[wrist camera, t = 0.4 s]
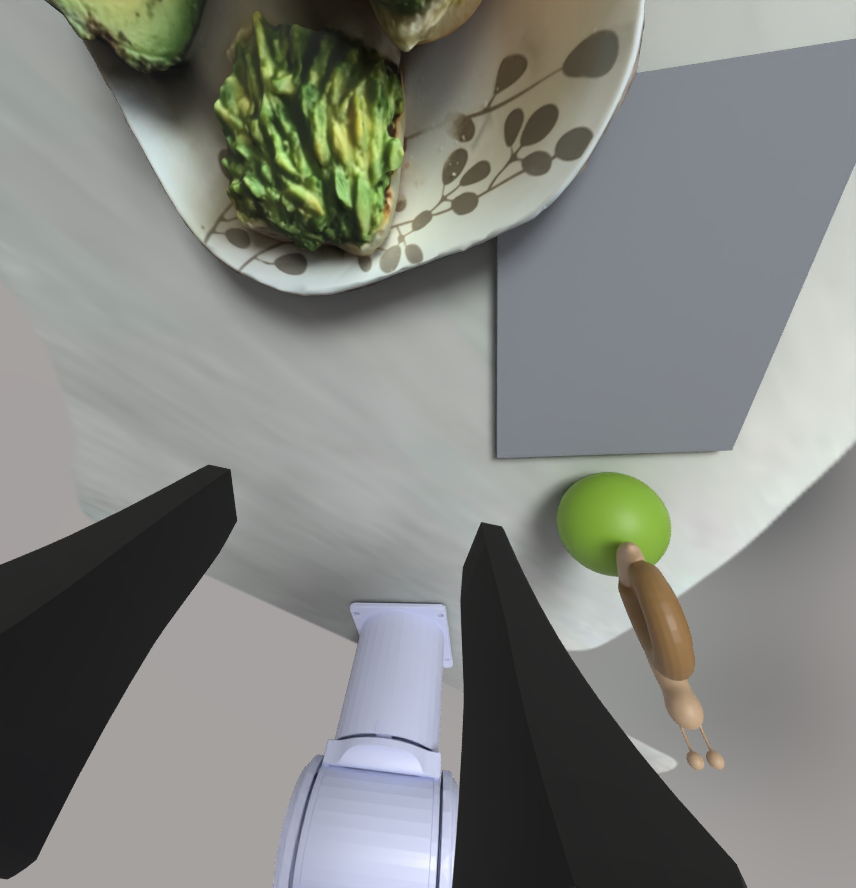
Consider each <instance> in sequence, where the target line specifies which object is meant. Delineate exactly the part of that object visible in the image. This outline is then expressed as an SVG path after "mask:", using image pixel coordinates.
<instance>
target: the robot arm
mask: <svg viewBox="0 0 856 888" xmlns="http://www.w3.org/2000/svg"><path fill="white" fill-rule="evenodd" d="M236 522H237V516H236V508H235V500H234V493H233V485H232V477H231V470H230V469H227V468H222V467H217V466H213V465H207V466H205V467H203V468H201V469H199V470H197V471H195V472H193V473H191V474H190V475H188V476H186V477H184V478H182V479H180V480H178V481H176V482H175V483H173V484H171V485H169V486H167V487H165V488H163V489H162V490H160V491H158V492H156V493H154V494H152V495H150V496H148V497H146V498H145V499H143V500H141V501H139V502H137V503H135V504H133V505H131V506H129V507H127V508H125V509H123V510H121V511H119V512H117V513H115V514H113V515H111V516H109V517H107V518H105V519H103V520H101V521H99V522H97V523H95V524H93V525H90V526H88V527H86V528H84V529H82V530H80V531H78V532H76V533H74V534H72V535H70V536H67V537H65V538H63V539H61V540H58V541H56V542H54V543H52V544H49V545H47V546H45V547H42V548H40V549H38V550H35V551H33V552H30V553H28V554H26V555H23V556H21V557H18V558H16V559H13V560H11V561H9V562H6V563H4V564H1V565H0V878H1V879H9V878H11V877H13V876H15V875H16V874H18V873H19V872H21V871H22V870H24V869H25V868H27V867H28V866H29V865H30V864H31V863H33V862H34V861H35V860H36V859H37V857H38V855H39V853H40V851H41V849H42V847H43V845H44V843H45V841H46V839H47V837H48V835H49V833H50V831H51V829H52V827H53V825H54V823H55V821H56V819H57V817H58V815H59V813H60V811H61V809H62V807H63V805H64V803H65V801H66V799H67V797H68V795H69V793H70V791H71V789H72V788H73V785H74V784H75V782H76V780H77V778H78V776H79V774H80V772H81V770H82V768H83V767H84V765H85V763H86V761H87V759H88V757H89V756H90V754H91V752H92V750H93V748H94V746H95V745H96V742H97V741H98V739H99V737H100V735H101V733H102V732H103V730H104V728H105V726H106V724H107V723H108V721H109V719H110V717H111V716H112V714H113V712H114V710H115V709H116V707H117V705H118V703H119V702H120V700H121V698H122V697H123V695H124V693H125V691H126V689H127V688H128V686H129V684H130V683H131V681H132V679H133V678H134V676H135V674H136V673H137V671H138V669H139V668H140V666H141V664H142V663H143V661H144V659H145V658H146V656H147V654H148V653H149V651H150V649H151V648H152V646H153V645H154V643H155V642H156V640H157V639H158V637H159V636H160V634H161V633H162V631H163V630H164V628H165V627H166V626H167V624H168V623H169V621H170V620H171V619H172V617H173V616H174V614H175V613H176V612H177V610H178V609H179V608H180V606H181V605H182V604H183V602H184V601H185V600H186V598H187V597H188V595H189V594H190V592H191V591H192V590H193V589H194V587H195V586H196V585H197V583H198V582H199V580H200V579H201V578H202V576H203V575H204V574H205V572H206V571H207V569H208V568H209V567H210V565H211V564H212V563H213V561H214V560H215V558H216V557H217V555H218V554H219V553H220V551H221V549H222V547H223V546H224V544H225V542H226V540H227V539H228V537H229V535H230V533H231V531H232V529H233V527H234V525H235V524H236ZM350 611H351V614H352V617H353V620H354V622H355V625H356V628H357V630H358V633H359V636H360V638H359V642H358V646H357V650H356V654H355V658H354V663H353V666H352V671H351V675H350V679H349V683H348V687H347V691H346V695H345V700H344V704H343V708H342V712H341V716H340V720H339V724H338V728H337V732H336V736H335V740H328V742H327V746H326V750H325V754H324V755H317V756H315V757H314V758H313V759H312V761H311V762H310V763H309V764H308V765H307V766H306V767H305V768H304V769H303V771H302V773H301V774H300V776H299V778H298V781H297V783H296V786H295V788H294V791H293V794H292V796H291V799H290V803H289V806H288V809H287V812H286V816H285V820H284V823H283V827H282V831H281V835H280V840H279V845H278V850H277V856H276V862H275V871H274V884H273V888H747V886H746V884H745V881H744V879H743V877H742V875H741V873H740V871H739V868H738V866H737V864H736V863H735V862H734V861H733V860H732V858H731V857H730V856H729V855H728V854H727V853H726V852H725V851H724V850H723V848H722V847H721V846H720V845H719V844H718V843H717V842H716V841H715V840H714V838H713V837H712V836H711V835H710V834H709V833H708V832H707V831H706V829H705V828H704V827H703V826H702V825H701V824H700V823H699V822H698V820H697V819H696V818H695V817H694V816H693V815H692V814H691V813H690V812H689V810H688V809H687V808H686V807H685V806H684V805H683V804H682V803H681V802H680V801H679V800H678V798H677V797H676V796H675V795H674V793H673V792H672V791H671V790H670V789H669V788H668V786H667V785H666V784H665V783H664V781H663V780H662V779H661V778H660V777H659V775H658V774H657V773H656V772H655V771H654V769H653V768H652V767H651V766H650V765H649V763H648V762H647V761H646V760H645V759H644V757H643V756H642V755H641V754H640V752H639V751H638V750H637V749H636V747H635V746H634V745H633V743H632V742H631V741H630V739H629V738H628V737H627V735H626V734H625V733H624V731H623V730H622V729H621V728H620V726H619V725H618V724H617V722H616V721H615V720H614V719H613V717H612V716H611V714H610V713H609V712H608V711H607V709H606V708H605V707H604V705H603V704H602V703H601V701H600V700H599V698H598V697H597V695H596V694H595V693H594V691H593V690H592V688H591V687H590V685H589V684H588V683H587V681H586V680H585V678H584V677H583V676H582V674H581V672H580V671H579V669H578V668H577V666H576V665H575V663H574V662H573V660H572V659H571V657H570V655H569V654H568V652H567V651H566V649H565V647H564V646H563V644H562V643H561V641H560V639H559V638H558V636H557V634H556V633H555V631H554V629H553V627H552V626H551V624H550V622H549V620H548V619H547V617H546V615H545V613H544V611H543V610H542V608H541V606H540V604H539V602H538V600H537V598H536V596H535V595H534V593H533V591H532V589H531V587H530V585H529V583H528V581H527V579H526V577H525V575H524V573H523V571H522V569H521V567H520V564H519V562H518V560H517V558H516V556H515V554H514V551H513V549H512V547H511V545H510V542H509V540H508V538H507V536H506V533H505V531H504V529H503V528H502V526H497V525H492V524H487V523H483V522H481V524H480V526H479V529H478V531H477V534H476V536H475V539H474V541H473V544H472V546H471V549H470V551H469V553H468V556H467V558H466V561H465V563H464V566H463V573H462V586H461V631H462V655H463V680H464V710H463V733H462V752H461V770H460V788H459V789H458V784H457V782H456V781H455V779H454V778H453V777H452V773H451V772H450V771H446V770H442V775H441V785H440V772H441V754H440V753H439V738H440V719H441V697H442V677H443V667H446V668H449V667H452V666H453V659H452V651H451V643H450V635H449V627H448V619H447V611H446V607H445V606H444V605H442V604H410V603H352V604H351V605H350Z"/></svg>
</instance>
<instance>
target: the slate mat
mask: <svg viewBox="0 0 856 888" xmlns="http://www.w3.org/2000/svg"><path fill="white" fill-rule="evenodd" d="M855 163H856V39H850V40H844V41H837V42H831V43H825V44H818V45H812V46H806V47H799V48H793V49H787V50H780V51H774V52H768V53H761V54H755V55H749V56H742V57H736V58H730V59H723V60H717V61H711V62H704V63H698V64H692V65H685V66H679V67H673V68H666V69H660V70H654V71H647V72H641V73H637V74H636V76H635V78H634V80H633V82H632V84H631V87H630V90H629V92H628V95H627V96H626V98H625V100H624V101H623V103H622V105H621V106H620V108H619V110H618V111H617V113H616V114H615V116H614V117H613V119H612V121H611V122H610V124H609V126H608V129H607V131H606V133H605V135H604V136H603V137H602V138H601V139H600V141H599V143H598V145H597V147H596V149H595V150H594V152H593V154H592V155H591V157H590V160H589V162H588V164H587V166H586V168H585V169H584V170H583V171H582V172H581V173H580V174H579V175H578V176H577V177H576V178H575V179H574V180H573V181H572V182H571V183H570V184H569V185H568V186H567V188H566V189H565V190H564V191H563V192H562V193H561V194H560V196H559V197H558V198H557V199H556V200H555V201H554V202H553V203H552V204H551V205H550V206H549V207H547V208H546V209H544V210H543V211H542V212H541V213H540V214H539V215H538V216H537V217H536V218H535V219H532V220H530V221H528V222H526V223H524V224H522V225H519V226H518V227H516V228H513V229H510V230H508V231H506V232H504V233H502V234H500V235H498V236H497V366H496V453H497V458H514V457H545V456H575V455H605V454H636V453H666V452H697V451H727V450H732V449H733V446H734V444H735V442H736V440H737V437H738V435H739V433H740V430H741V428H742V426H743V423H744V421H745V419H746V416H747V414H748V412H749V409H750V407H751V405H752V402H753V400H754V398H755V395H756V393H757V391H758V388H759V386H760V384H761V381H762V379H763V377H764V374H765V372H766V370H767V367H768V365H769V363H770V361H771V358H772V356H773V354H774V351H775V349H776V347H777V344H778V342H779V340H780V337H781V335H782V333H783V330H784V328H785V326H786V323H787V321H788V319H789V316H790V314H791V312H792V309H793V307H794V305H795V302H796V300H797V298H798V295H799V293H800V291H801V288H802V286H803V284H804V282H805V279H806V277H807V275H808V272H809V270H810V268H811V265H812V263H813V261H814V258H815V256H816V254H817V251H818V249H819V247H820V244H821V242H822V240H823V237H824V235H825V233H826V230H827V228H828V226H829V223H830V221H831V219H832V216H833V214H834V212H835V210H836V207H837V205H838V203H839V200H840V198H841V196H842V193H843V191H844V189H845V186H846V184H847V182H848V179H849V177H850V175H851V172H852V170H853V168H854V165H855Z"/></svg>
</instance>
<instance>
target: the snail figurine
mask: <svg viewBox="0 0 856 888" xmlns="http://www.w3.org/2000/svg"><path fill="white" fill-rule="evenodd" d="M557 528H558V532H559V535H560V538H561V540H562V543H563V544H564V546H565V548H566V549H567V551H568V552H569V553H570V554H571V555H572V557H573V558H574V559H576V560H577V561H578V562H579V563H580V564H582V565H583V566H585V567H586V568H588V569H590V570H592V571H594V572H597V573H600V574H603V575H608V576H616V577H619V583H618V589H619V593H620V596H621V598H622V601H623V604H624V606H625V609H626V611H627V614H628V616H629V619H630V621H631V623H632V626H633V628H634V630H635V632H636V635H637V637H638V639H639V641H640V643H641V645H642V647H643V649H644V651H645V654H646V657H647V659H648V662H649V664H650V666H651V669H652V671H653V673H654V675H655V677H656V679H657V681H658V683H659V685H660V687H661V690H662V693H663V696H664V701H665V706H666V709H667V711H668V713H669V715H670V716H671V718H672V719H673V720H674V721H675V722H676V723H677V724H678V725H679V726H680V728H681V730H682V733H683V735H684V738H685V740H686V742H687V745H688V748H689V750H690V752H688V754H687V761H688V763H689V765H690V766H691V767H692V768H694V769H696V770H702V769H703V767H704V761H703V759H702V757H701V756H700V755H699V754H698V753H696V752H694V751H692V749H691V747H690V744H689V742H688V740H687V737H686V734H685V731H684V728H685V729H689V730H694V729H697V728H700V731H701V732H702V735H703V737H704V739H705V741H706V743H707V746H708V748H709V751H708V752H707V754H706V759H707V761H708V763H709V764H710V765H711V766H712V767H713V768H715V769H719V770H720V769H722V768H723V767H724V764H725V763H724V759H723V758H722V756H721V755H720V754H719V753H718V752H716V751H713V750H712V749H711V747H710V745H709V743H708V740H707V738H706V736H705V734H704V731H703V729H702V726H701V725H702V723H703V717H704V715H703V709H702V707H701V704H700V702H699V701H698V699H697V698H696V696H695V695H694V693H693V692H692V690H691V688H690V686H689V683H688V681H687V679H688V678H689V677H690V676H691V675H692V673H693V672H694V667H695V656H694V651H693V644H692V637H691V633H690V630H689V627H688V624H687V621H686V618H685V616H684V613H683V610H682V608H681V606H680V604H679V602H678V599H677V597H676V595H675V594H674V592H673V590H672V588H671V587H670V585H669V584H668V582H667V581H666V579H665V578H664V576H663V575H662V573H661V572H660V571H659V569H658V568H657V567H655V566H654V565H655V564H656V563H657V562H658V561H659V560H660V559H661V557H662V556H663V555H664V553H665V551H666V549H667V547H668V545H669V541H670V537H671V522H670V517H669V514H668V511H667V509H666V507H665V505H664V503H663V501H662V500H661V499H660V497H659V496H658V495H657V494H656V493H655V492H654V491H653V490H652V489H651V488H650V487H649V486H648V485H646V484H645V483H643V482H642V481H640V480H638V479H636V478H634V477H631V476H628V475H625V474H621V473H613V472H603V473H596V474H592V475H589V476H586V477H584V478H582V479H580V480H579V481H577V482H576V483H574V484H573V485H572V486H571V487H570V488H569V489H568V490H567V491H566V493H565V494H564V495H563V497H562V499H561V501H560V504H559V507H558V511H557Z"/></svg>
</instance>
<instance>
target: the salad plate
mask: <svg viewBox="0 0 856 888" xmlns="http://www.w3.org/2000/svg"><path fill="white" fill-rule="evenodd" d="M45 1H46V2H47V3H49V4H50V5H51V6H53V7H54V8H55V9H56V10H58V11H59V12H60V13H62V14H63V15H64V16H65V18H66V19H67V21H68V22H69V24H70V25H71V26H72V28H73V29H74V31H75V32H76V34H77V35H78V36H79V37H80V38H81V39H82V40H83V42H84V43H85V45H86V47H87V49H88V50H89V52H90V54H91V55H92V57H93V59H94V61H95V63H96V65H97V67H98V69H99V71H100V72H101V74H102V76H103V78H104V80H105V82H106V84H107V86H108V87H109V88H110V90H111V91H112V93H113V94H114V96H115V98H116V100H117V102H118V103H119V105H120V107H121V109H122V112H123V114H124V117H125V120H126V122H127V123H128V125H129V127H130V129H131V131H132V132H133V134H134V136H135V137H136V139H137V140H138V142H139V144H140V146H141V147H142V149H143V151H144V153H145V155H146V157H147V159H148V161H149V163H150V165H151V167H152V169H153V170H154V172H155V174H156V176H157V178H158V179H159V181H160V183H161V185H162V187H163V188H164V190H165V192H166V194H167V195H168V197H169V198H170V200H171V201H172V203H173V204H174V206H175V208H176V209H177V211H178V212H179V214H180V216H181V217H182V219H183V220H184V222H185V223H186V225H187V226H188V228H189V229H190V230H191V231H192V232H193V234H194V235H195V236H196V237H197V239H198V240H199V241H200V242H201V244H202V245H203V246H204V247H205V248H206V249H207V250H208V251H209V252H211V253H212V254H213V255H214V256H215V257H216V258H217V259H219V260H220V261H221V262H223V263H224V264H226V265H227V266H229V267H230V268H231V269H233V270H234V271H236V272H237V273H239V274H241V275H243V276H246V277H248V278H250V279H252V280H255V281H257V282H259V283H261V284H263V285H266V286H269V287H271V288H273V289H276V290H278V291H280V292H283V293H289V294H293V295H297V296H318V295H332V294H338V293H343V292H347V291H352V290H358V289H360V288H362V287H366V286H370V285H374V284H376V283H377V282H379V281H381V280H383V279H386V278H388V277H390V276H393V275H395V274H398V273H401V272H404V271H407V270H410V269H412V268H415V267H418V266H421V265H424V264H427V263H430V262H432V261H434V260H437V259H439V258H442V257H444V256H447V255H451V254H455V253H458V252H462V251H466V250H468V249H470V248H471V247H473V246H474V245H478V244H482V243H484V242H486V241H488V240H490V239H492V238H494V237H496V236H498V235H500V234H502V233H504V232H506V231H508V230H510V229H513V228H516V227H518V226H519V225H522V224H524V223H526V222H528V221H530V220H532V219H535V218H536V217H537V216H538V215H539V214H540V213H541V212H542V211H543V210H544V209H546V208H547V207H549V206H550V205H551V204H552V203H553V202H554V201H555V200H556V199H557V198H558V197H559V196H560V194H561V193H562V192H563V191H564V190H565V189H566V188H567V186H568V185H569V184H570V183H571V182H572V181H573V180H574V179H575V178H576V177H577V176H578V175H579V174H580V173H581V172H582V171H583V170H584V169H585V168H586V166H587V164H588V162H589V160H590V157H591V155H592V154H593V152H594V150H595V149H596V147H597V145H598V143H599V141H600V139H601V138H602V137H603V136H604V135H605V133H606V131H607V129H608V126H609V124H610V122H611V121H612V119H613V117H614V116H615V114H616V113H617V111H618V110H619V108H620V106H621V105H622V103H623V101H624V100H625V98H626V96H627V95H628V92H629V90H630V87H631V84H632V82H633V80H634V78H635V76H636V74H637V68H638V60H639V54H640V47H641V41H642V34H643V29H644V18H645V7H644V0H45Z"/></svg>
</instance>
